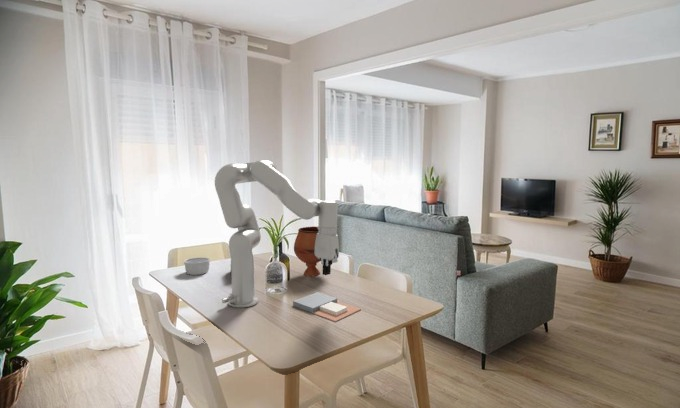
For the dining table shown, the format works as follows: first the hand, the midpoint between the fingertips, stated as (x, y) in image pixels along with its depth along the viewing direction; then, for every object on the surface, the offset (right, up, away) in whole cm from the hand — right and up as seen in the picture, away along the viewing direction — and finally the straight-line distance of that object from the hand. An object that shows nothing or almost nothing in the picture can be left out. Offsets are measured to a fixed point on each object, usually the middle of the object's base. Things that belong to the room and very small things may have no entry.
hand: (326, 274), depth 160 cm
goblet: (-10, -9, +50) cm, 52 cm away
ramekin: (-72, -9, +51) cm, 89 cm away
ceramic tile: (+3, -14, -1) cm, 14 cm away
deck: (-5, -14, +6) cm, 16 cm away
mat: (+4, -15, -2) cm, 16 cm away
